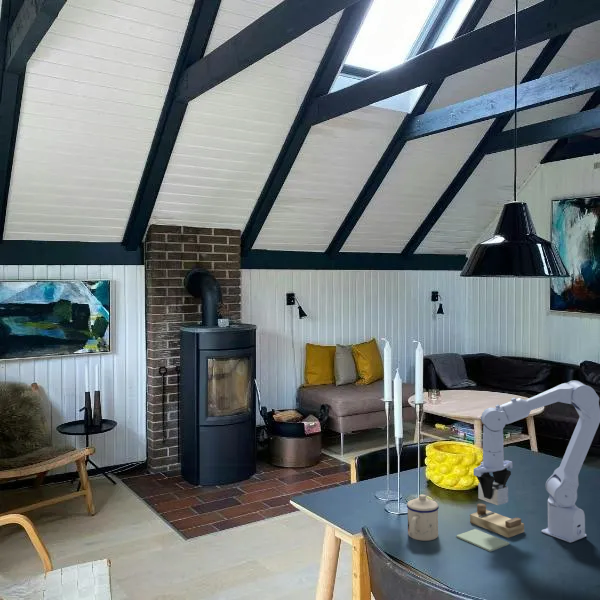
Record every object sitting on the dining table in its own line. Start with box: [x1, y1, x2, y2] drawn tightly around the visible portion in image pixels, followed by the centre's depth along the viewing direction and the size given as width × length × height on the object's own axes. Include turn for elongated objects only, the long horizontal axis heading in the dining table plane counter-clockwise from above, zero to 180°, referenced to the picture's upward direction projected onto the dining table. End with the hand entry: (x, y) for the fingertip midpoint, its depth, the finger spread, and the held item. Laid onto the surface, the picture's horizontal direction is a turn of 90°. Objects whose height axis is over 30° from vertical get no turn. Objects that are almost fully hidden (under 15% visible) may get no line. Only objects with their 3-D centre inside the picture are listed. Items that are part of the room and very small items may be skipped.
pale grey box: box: [477, 482, 509, 506], centre depth 182 cm, size 7×4×5 cm, turn 33°
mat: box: [456, 528, 510, 553], centre depth 176 cm, size 12×8×1 cm, turn 33°
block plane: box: [469, 503, 525, 539], centre depth 185 cm, size 14×7×5 cm, turn 33°
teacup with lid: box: [406, 493, 440, 542], centre depth 179 cm, size 12×9×12 cm
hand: (493, 496), depth 181 cm, fingers closed on pale grey box, 4 cm apart
